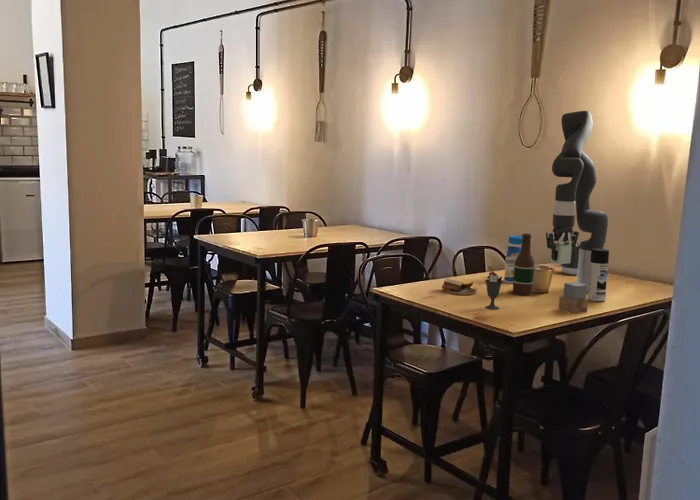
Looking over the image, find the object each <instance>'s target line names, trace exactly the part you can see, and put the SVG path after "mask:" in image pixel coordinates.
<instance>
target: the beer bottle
mask: <svg viewBox="0 0 700 500" xmlns="http://www.w3.org/2000/svg"><path fill="white" fill-rule="evenodd" d="M521 236H522V244H521V251H520V254H519V255H518V257H517V258H516V260H515V265H514V278H513V283H512V293H514V294H516V295H520V296H521V295H522V296H530V295H532V294H533V289H534V276H535V259H534V257H533V255H532V253H531V243H532V242H531V238H532V234H531V233H523V234H521Z"/></svg>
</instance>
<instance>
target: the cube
mask: <svg viewBox="0 0 700 500" xmlns="http://www.w3.org/2000/svg"><path fill="white" fill-rule="evenodd" d="M586 291H587V285H585V284H581V283H577V281H574V282H564V284H563V295H562V296H563V297H567V298H570V299H573V300H578V299H587V292H586Z"/></svg>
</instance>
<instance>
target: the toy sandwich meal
mask: <svg viewBox="0 0 700 500" xmlns="http://www.w3.org/2000/svg"><path fill="white" fill-rule="evenodd" d="M474 283H475V282H474V281H472V282H469V283H464V282H463V281H459V280H454V279H451V278H446V279H444V280H443V284H442V285H441V288H442V290H445V291H446V292H447V293H448V294H450V295H457V296H470V295H474V294H476V292H477V288H472V286H473V285H474Z"/></svg>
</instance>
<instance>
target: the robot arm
mask: <svg viewBox="0 0 700 500" xmlns="http://www.w3.org/2000/svg"><path fill="white" fill-rule="evenodd" d="M560 124H561V129H562V135H563V138H564V143H563V145H562V149H561V152H559V153H558V155H556V157H555V159H554V160H553V162H552V164H551V165H552V166H551V172H552V173H553V175H554V176H556V177H557V178H571V180H570V181H568V182H565V183H560V184H557V185H556V187H555V196H554V197H555V198H554V204H553V210H552V211H553V212H552V222H551V223H552V226H553V229H552V231H550V232H548V231H546V233H545V238H546V239H545V240H546V247H547V249H550V251H551V250H552V255H551V254H550V256H551V258H552V260H554V261H557V258H558V251H557V250H558V248H559V245H561V243H562V244H567V245H572V248H575V247H576V243H578V239H579V234H580V233H579V231H575V230H573V228H574V227H575V218H576V223H577V226H578V229H579V230H580V231H581V232H584V233H589V234H590V237H589V238H588V239H587V240H582V241H580V243H579V246H580V248H579V260H578V271H577V275H576V282H577V283H581V284H585V285H587V291H586V293H588V284H589V271H590V259H591V250H592V249H595V248H599V249H604V246H605V243H606V239H607V233H608V225H609V218H608V215H607V213H606V212H604V211H600V210H591V206H590V198H591V197H590V196H591V194H592V192H593V190H594V189H595V186H596V184H597V173H596V167H595V163H594V162H593V160H592V159H591V158H590V157H589V155H587V154H586V153H585V152H584V151H583V149H584V145H585V144H586V142H587V140H588V139H589V136H590V135H591V133H592V130H593V127H594V124H593V117H592V114H591V112H590V111H588V110H580V111H573V112H566V113H563V114H562V117H561V123H560ZM572 242H573V244H572ZM555 245H556V246H555Z"/></svg>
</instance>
